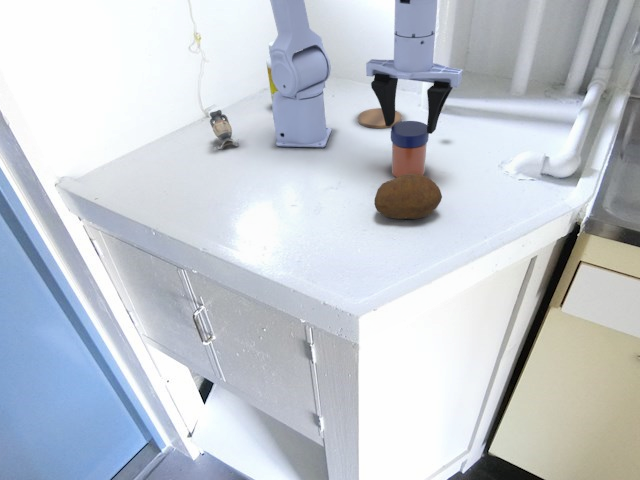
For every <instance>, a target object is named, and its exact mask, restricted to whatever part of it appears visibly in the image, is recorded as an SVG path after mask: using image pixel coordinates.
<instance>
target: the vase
mask: <svg viewBox="0 0 640 480" xmlns="http://www.w3.org/2000/svg"><path fill="white" fill-rule="evenodd" d="M209 116H210V119H209V123H210V126H211V128H212V131H213V133H214V135H215V137H216V138H217V139H219V140H220V141H222V144H221V145H216V146H215V147H213V148H212V149H213V151H214V152H216V150H223V149H224V147H226V146H228V145H233V146H236V147H238V146H239V145H240V144H241V142H240V141H239V140H238V139H235V140H234V139H233V138H232V135H233V130H232V126H231V124H230V122H229V119H228V117H227V115H226V114H223V112H222V109H218V110H216V111H210V112H209ZM213 146H214V145H213Z"/></svg>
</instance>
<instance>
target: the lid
mask: <svg viewBox="0 0 640 480" xmlns="http://www.w3.org/2000/svg"><path fill="white" fill-rule="evenodd" d="M429 135H430V134H429V133H427V123H424V122H422V121H417V120H404V121H401V122H399V123H396V124H394V125H393V126H392V127H390V141H391V144H392V143H393V144H395V145H397V146H400V147H405V148H414V147H420V146H423V145H425V144H426V143H427V144H428V142H429Z"/></svg>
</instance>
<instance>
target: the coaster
mask: <svg viewBox="0 0 640 480" xmlns="http://www.w3.org/2000/svg"><path fill="white" fill-rule="evenodd" d="M402 119H403V117H402V114H401V112H399V111H398V110H395V121H394V123H393V124H392V125H391V126H389V127H388V126H386V125H385V120H384V116H383V112H382V109H381V107H376V108H370V109H366V110H364V111H362V112H360V113H359V114H358V115H357V122H358V123H359V124H360V125H361V126H363V127H365V128H370V129H387V128H392V126H393V125H394V124H396V123H399V122H402Z"/></svg>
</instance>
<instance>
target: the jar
mask: <svg viewBox="0 0 640 480" xmlns="http://www.w3.org/2000/svg"><path fill="white" fill-rule="evenodd" d="M427 144H428V142H427V143H426V144H425V145H423V146H420V147H414V148H405V147H400V146H397V145H395V144H393V143H392V142H391V145H392V147H391V174H392V175H393V177H395V178H397V177H399V176H401V175H404V174H418V175H423V176H425V173H426V159H427V158H426V157H427V146H428V145H427Z"/></svg>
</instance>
